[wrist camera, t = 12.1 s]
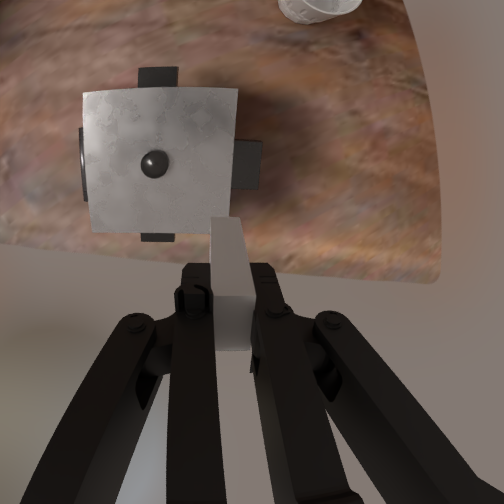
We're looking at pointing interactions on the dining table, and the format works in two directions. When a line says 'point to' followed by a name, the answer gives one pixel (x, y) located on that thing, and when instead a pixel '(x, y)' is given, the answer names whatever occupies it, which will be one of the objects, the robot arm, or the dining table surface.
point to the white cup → (316, 9)
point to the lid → (163, 158)
